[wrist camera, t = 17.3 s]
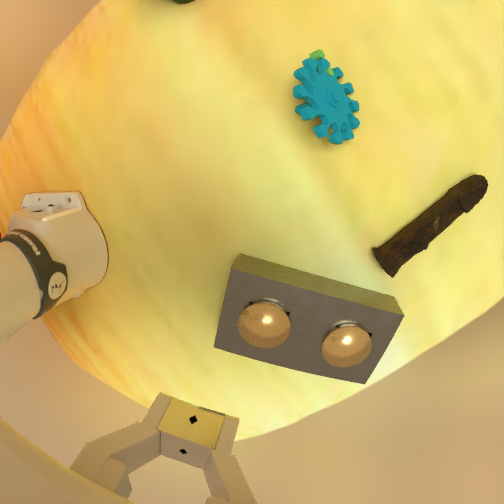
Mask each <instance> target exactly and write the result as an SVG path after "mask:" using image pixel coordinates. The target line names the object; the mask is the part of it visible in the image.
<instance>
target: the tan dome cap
mask: <svg viewBox="0 0 504 504" xmlns="http://www.w3.org/2000/svg"><path fill="white" fill-rule="evenodd" d="M371 347H372V342H371V338H370V335H369V333H368V332H367V330H365V329H364V328H363V327H361V326H359V325H355V324H344V325H337V326H336V327H335V328H334V329H332V330H331V331H329V332H328V333H327V335H326V336H325V337H324V339H323V342H322V354H323V357H324V359H325V360H326V361H327V362H328V363H329V364H331V365H333V366H336V367H351V366H354V365H357V364H359V363H360V362H362V361H363V360H364V359H365V358H366V357H367V356H368V355H369V353H370V351H371Z"/></svg>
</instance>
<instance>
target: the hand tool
mask: <svg viewBox="0 0 504 504" xmlns="http://www.w3.org/2000/svg"><path fill="white" fill-rule="evenodd" d="M487 187H488V183H487V180H486V179H485V177H484V176H482V175H474V176H471V177H469V178H467V179H465V180H463V181H461V182H460V183H459V184H457V185H455V186H453V187H452V188H450V189H449V190H448V192H447V195H446V196H445V197H443V198H442V199H441V200H440V201H439V202H437V203H436V204H435V205H434V206H432V207H431V208H430V209H428V210H427V211H426V212H424V213H423V214H422V215H421V216H420V217H419V218H418V219H417V220H415V221H414V222H413V223H411V224H410V225H409V226H407V227H406V228H404V229H403V230H402V231H401V232H400V233H399V234H398V235H396V236H395V237H394V238H393V239H392V240H390V241H389V242H388V243H387V244H385V245H384V246H382V247H380V248H373V252H374V255H375V257H376V258H377V261H378V262H379V264H380V265H381V267H382V268H383V269H384V270H385V272H386V273H387V274H388V275H390V276H391V277H392V278H393V277H394V276H395V274H396V273H397V272H398V270H399V268H400V267H401V266H402V265H403V264H405V263H406V262H407V261H408V260H410V259H411V258H412V257H413V256H414V255H415V254H417V253H419V252H421V251H423V250H426V249H427V248H428V245H429V243H430V242H431V241H432V240H433V239H435V238H436V237H437V236H438V235H439V234H440V233H442V232H443V231H444V230H445V229H446V228H447V227H448V226H449V225H450V224H451V223H452V222H453V221H454V220H455V219H457V218H458V217H459V216H460V215H462V214H463V213H464V212H465V213H468V212H469V211H470V210H471V209H473V207H474V206H475V205H476V204H478V203H479V201H480V200H481V199H482V198H483V196H484V194H485V193H486V191H487Z"/></svg>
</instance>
